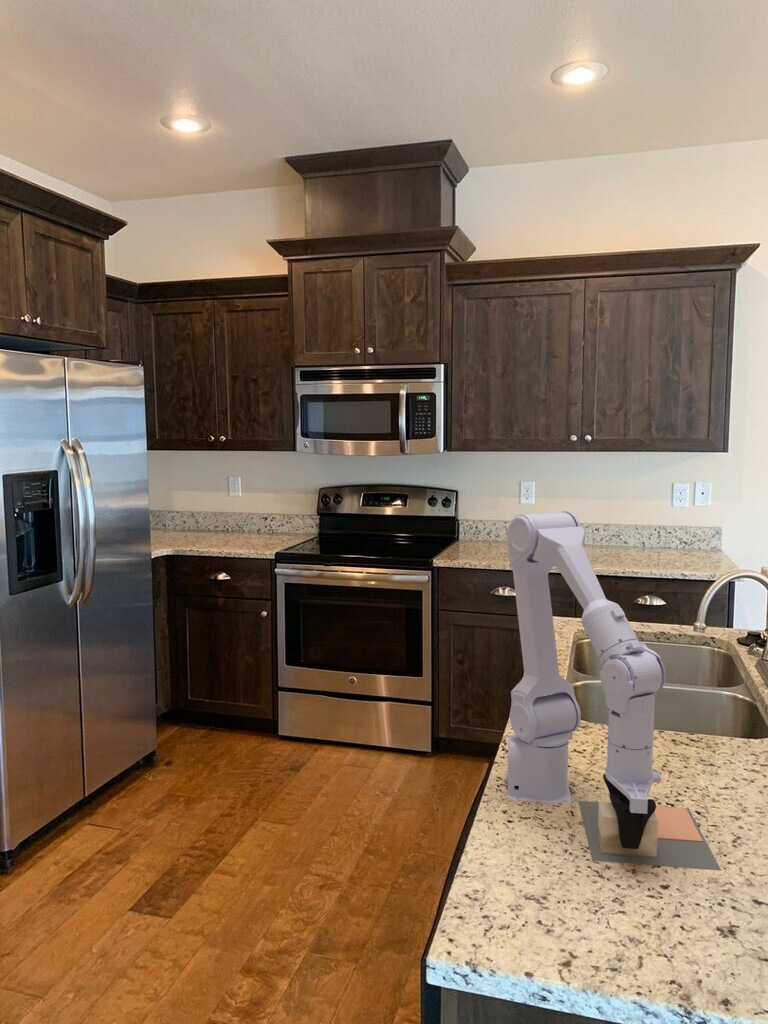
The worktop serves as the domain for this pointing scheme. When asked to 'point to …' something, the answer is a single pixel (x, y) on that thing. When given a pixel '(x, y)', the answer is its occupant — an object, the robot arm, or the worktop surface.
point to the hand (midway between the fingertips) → (626, 837)
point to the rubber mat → (658, 840)
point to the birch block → (610, 833)
